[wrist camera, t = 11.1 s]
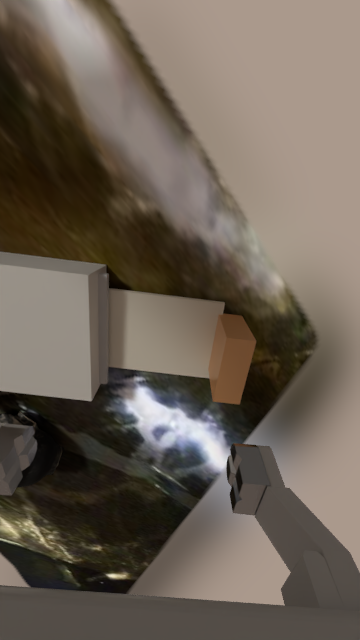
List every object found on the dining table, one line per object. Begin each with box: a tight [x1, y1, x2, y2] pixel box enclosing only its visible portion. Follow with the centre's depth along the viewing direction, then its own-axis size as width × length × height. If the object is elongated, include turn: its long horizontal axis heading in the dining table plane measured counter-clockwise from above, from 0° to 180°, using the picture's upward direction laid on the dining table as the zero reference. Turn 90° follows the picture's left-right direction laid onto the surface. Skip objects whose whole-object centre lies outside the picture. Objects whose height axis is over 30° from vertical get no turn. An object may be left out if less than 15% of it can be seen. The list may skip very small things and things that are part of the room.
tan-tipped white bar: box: [108, 288, 256, 404], centre depth 29 cm, size 11×22×7 cm, turn 83°
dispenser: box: [0, 252, 109, 401], centre depth 30 cm, size 16×19×6 cm
